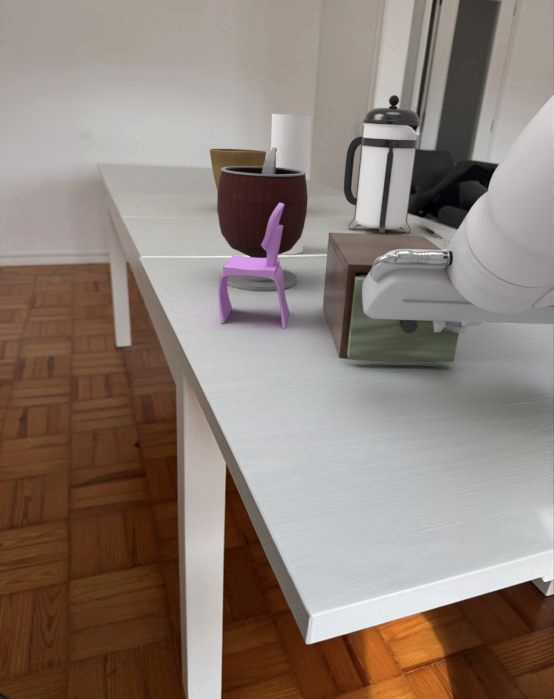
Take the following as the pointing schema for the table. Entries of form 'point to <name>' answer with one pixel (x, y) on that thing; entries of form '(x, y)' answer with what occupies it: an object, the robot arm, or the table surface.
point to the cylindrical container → (292, 149)
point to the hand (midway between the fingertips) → (446, 326)
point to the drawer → (395, 336)
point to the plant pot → (234, 159)
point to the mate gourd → (261, 213)
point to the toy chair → (258, 268)
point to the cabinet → (341, 265)
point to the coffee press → (383, 167)
